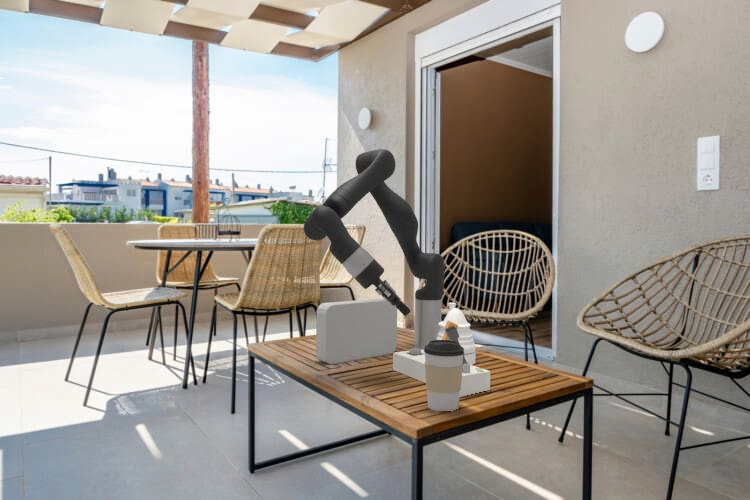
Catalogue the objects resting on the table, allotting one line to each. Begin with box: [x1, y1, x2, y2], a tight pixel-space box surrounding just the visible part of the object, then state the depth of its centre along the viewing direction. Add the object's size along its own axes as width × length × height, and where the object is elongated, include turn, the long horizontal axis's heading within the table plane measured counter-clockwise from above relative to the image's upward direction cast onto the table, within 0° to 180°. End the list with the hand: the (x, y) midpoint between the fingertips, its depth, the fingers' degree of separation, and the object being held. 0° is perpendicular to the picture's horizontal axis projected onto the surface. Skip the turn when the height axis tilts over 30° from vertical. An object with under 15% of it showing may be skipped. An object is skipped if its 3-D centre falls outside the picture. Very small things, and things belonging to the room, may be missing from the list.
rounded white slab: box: [315, 297, 398, 365], centre depth 161 cm, size 29×8×18 cm, turn 129°
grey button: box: [408, 347, 421, 356], centre depth 145 cm, size 3×3×3 cm
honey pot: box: [436, 302, 477, 366], centre depth 157 cm, size 13×13×18 cm
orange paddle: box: [442, 320, 458, 340], centre depth 136 cm, size 2×4×11 cm, turn 1°
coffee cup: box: [424, 340, 464, 412], centre depth 113 cm, size 9×9×15 cm
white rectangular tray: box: [392, 349, 491, 398], centre depth 136 cm, size 10×29×7 cm, turn 32°
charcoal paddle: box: [445, 326, 468, 364], centre depth 127 cm, size 2×4×11 cm, turn 3°
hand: (407, 313), depth 135 cm, fingers closed
